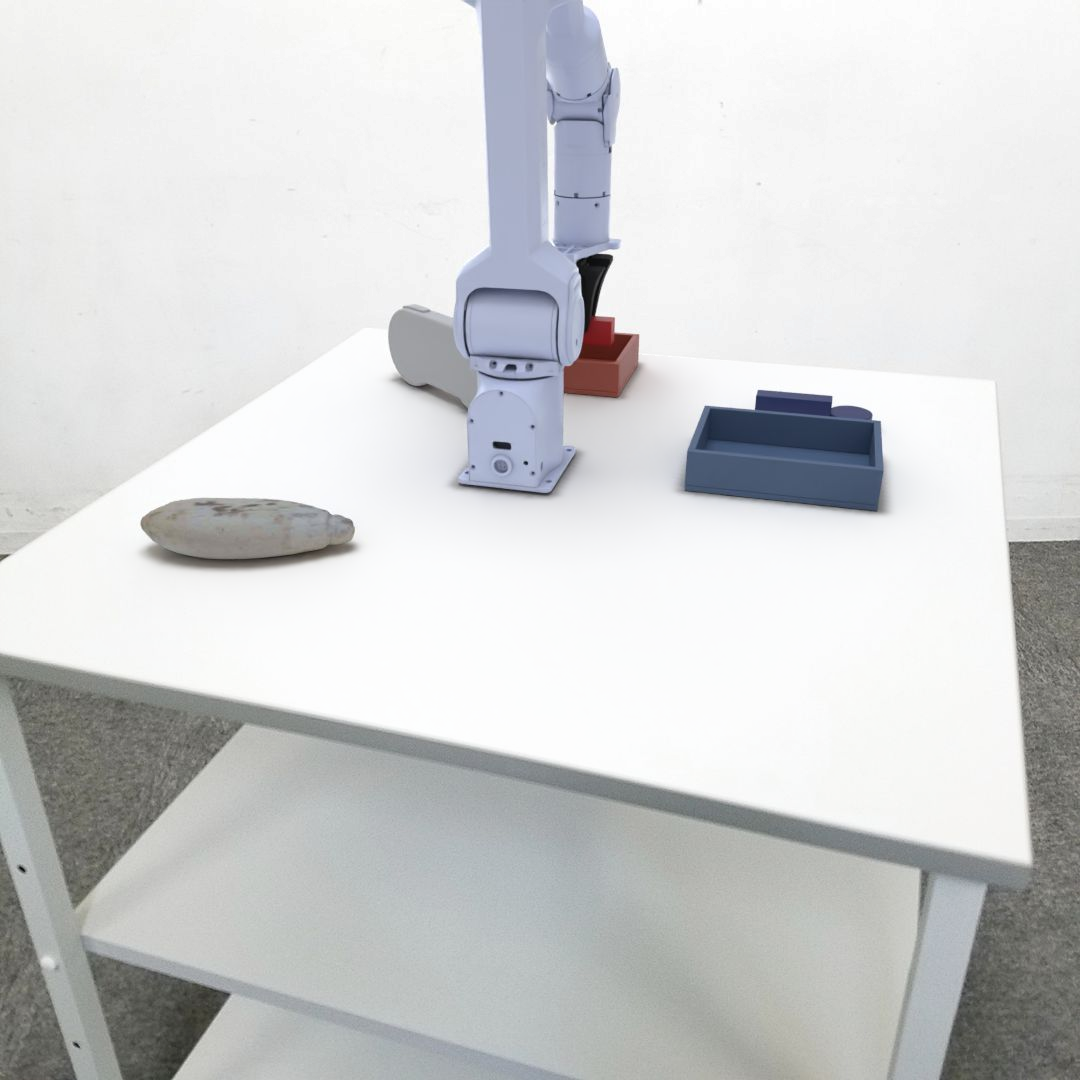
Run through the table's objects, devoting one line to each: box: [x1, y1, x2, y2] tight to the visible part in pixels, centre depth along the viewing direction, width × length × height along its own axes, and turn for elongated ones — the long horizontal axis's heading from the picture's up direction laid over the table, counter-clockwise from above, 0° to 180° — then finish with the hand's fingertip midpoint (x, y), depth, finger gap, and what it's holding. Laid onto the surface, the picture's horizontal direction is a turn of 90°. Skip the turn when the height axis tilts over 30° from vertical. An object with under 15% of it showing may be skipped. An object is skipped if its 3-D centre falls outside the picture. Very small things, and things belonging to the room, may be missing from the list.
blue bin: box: [684, 405, 885, 512], centre depth 87 cm, size 11×15×4 cm
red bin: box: [564, 332, 640, 398], centre depth 111 cm, size 11×15×4 cm
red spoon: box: [582, 315, 616, 346], centre depth 109 cm, size 11×4×3 cm, turn 75°
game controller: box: [387, 303, 477, 410], centre depth 103 cm, size 20×2×8 cm, turn 39°
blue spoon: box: [754, 389, 874, 420], centre depth 98 cm, size 11×4×3 cm, turn 75°
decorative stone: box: [140, 497, 356, 560], centre depth 75 cm, size 6×16×3 cm, turn 93°
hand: (579, 328), depth 109 cm, fingers closed on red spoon, 2 cm apart
